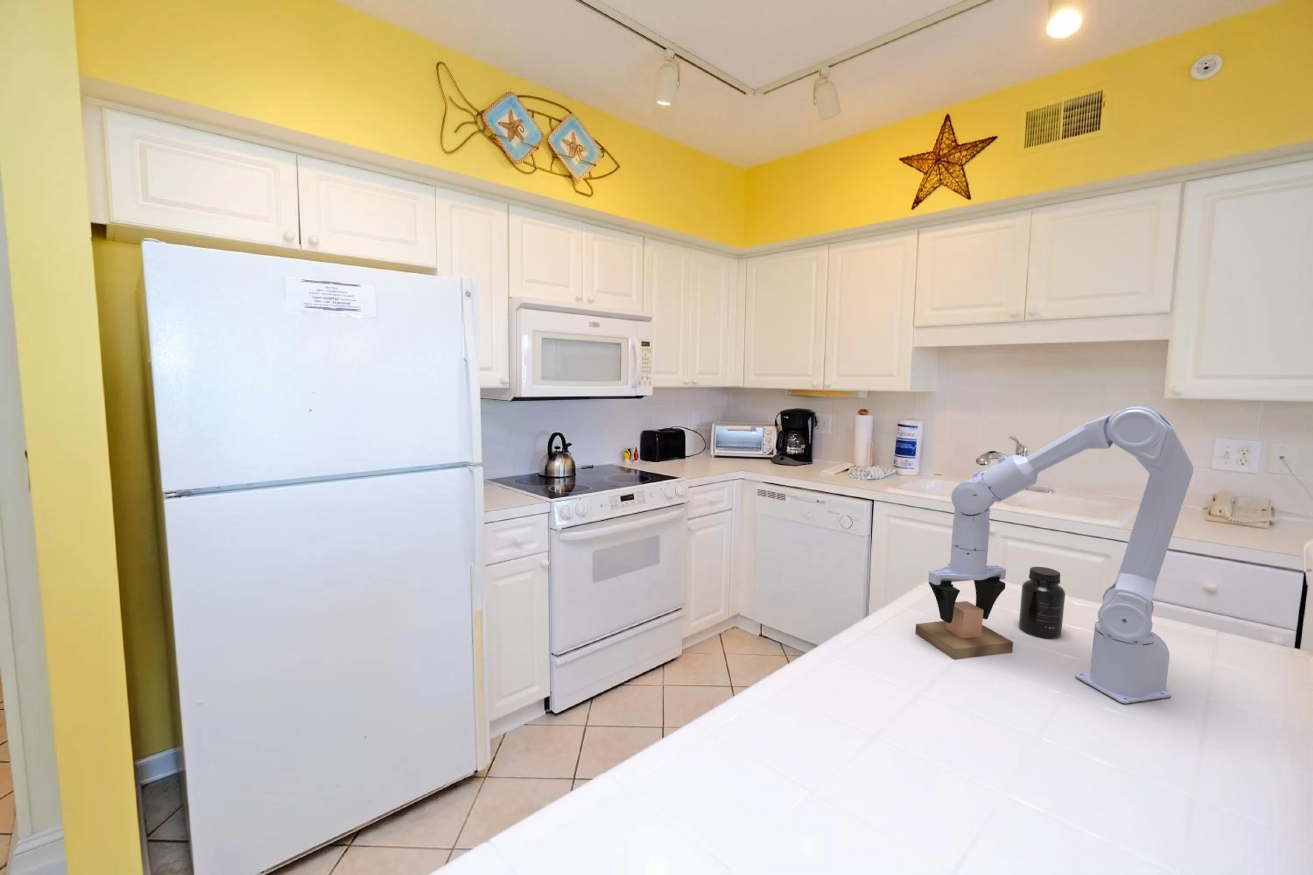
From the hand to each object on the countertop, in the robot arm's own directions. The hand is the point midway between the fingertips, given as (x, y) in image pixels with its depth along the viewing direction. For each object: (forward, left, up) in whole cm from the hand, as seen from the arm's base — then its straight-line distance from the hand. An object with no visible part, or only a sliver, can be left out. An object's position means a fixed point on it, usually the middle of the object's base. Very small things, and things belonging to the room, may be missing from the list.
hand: (964, 618), depth 104 cm
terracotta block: (0, 0, -3) cm, 3 cm away
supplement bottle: (-18, -1, -5) cm, 19 cm away
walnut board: (0, 0, -5) cm, 5 cm away
